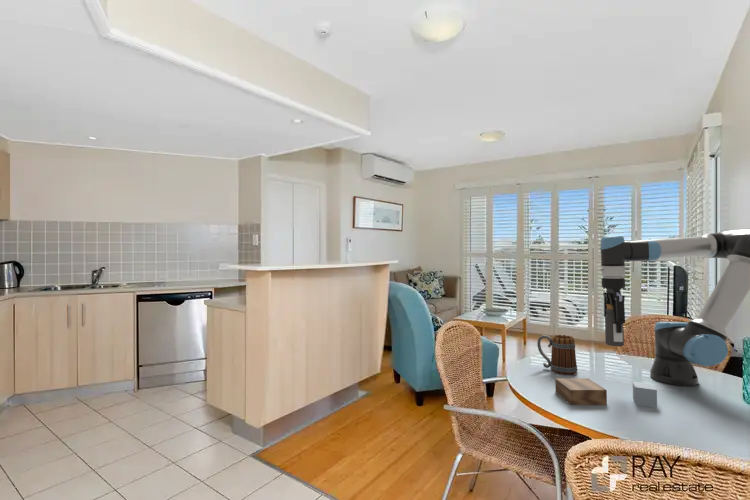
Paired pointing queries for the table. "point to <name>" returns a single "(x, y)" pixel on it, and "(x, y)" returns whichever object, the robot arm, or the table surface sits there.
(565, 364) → the mug
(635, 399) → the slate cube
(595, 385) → the walnut block
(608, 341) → the bottle
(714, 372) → the table surface
